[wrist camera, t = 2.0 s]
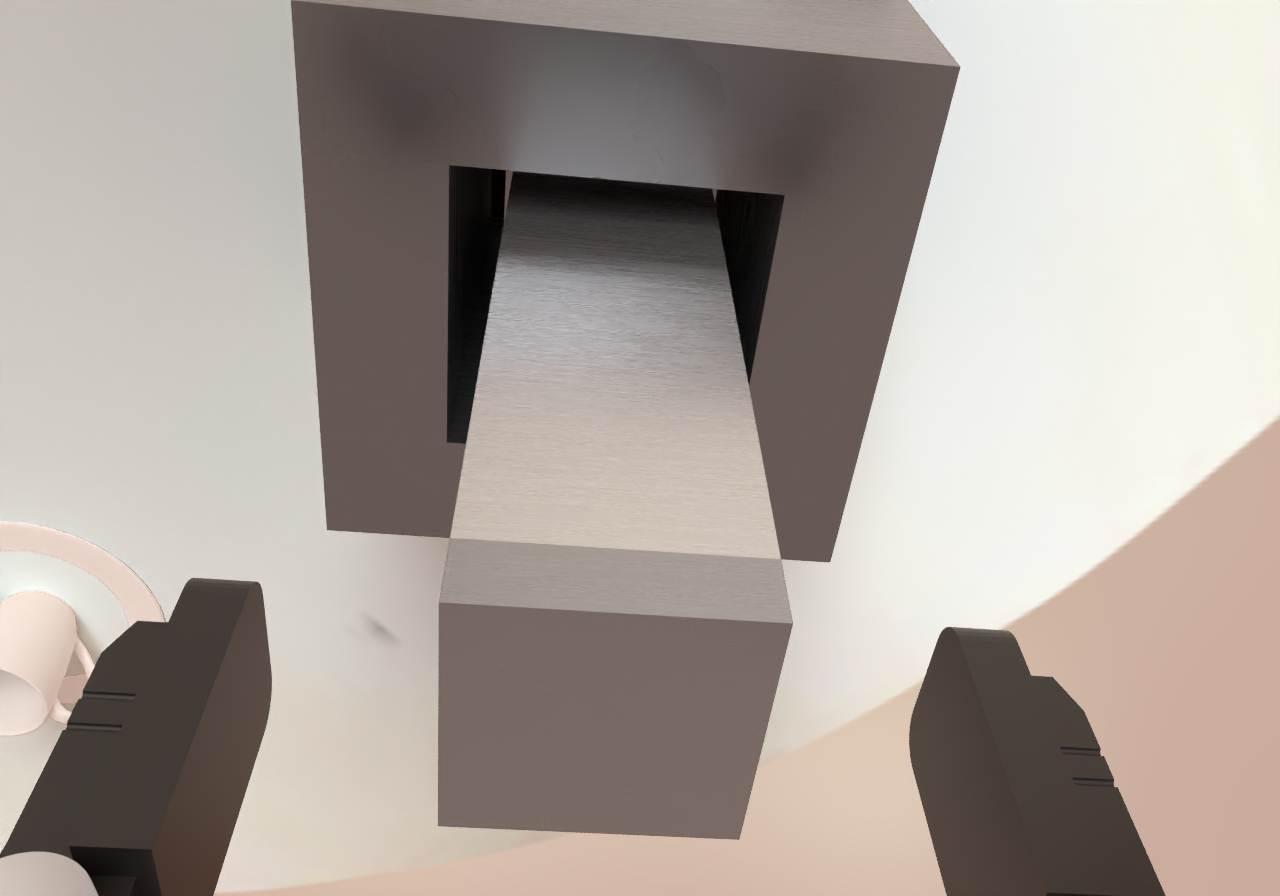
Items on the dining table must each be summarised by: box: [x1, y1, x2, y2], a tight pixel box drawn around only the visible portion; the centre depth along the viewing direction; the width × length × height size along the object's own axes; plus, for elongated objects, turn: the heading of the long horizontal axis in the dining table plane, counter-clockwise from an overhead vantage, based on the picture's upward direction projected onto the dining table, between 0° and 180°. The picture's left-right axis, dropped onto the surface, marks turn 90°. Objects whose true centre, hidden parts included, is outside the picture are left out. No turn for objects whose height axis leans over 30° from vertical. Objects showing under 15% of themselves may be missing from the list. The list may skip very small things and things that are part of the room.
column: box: [438, 170, 793, 839], centre depth 20 cm, size 4×4×19 cm
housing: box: [291, 0, 960, 562], centre depth 24 cm, size 12×12×11 cm
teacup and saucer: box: [0, 522, 165, 736], centre depth 36 cm, size 9×8×4 cm
